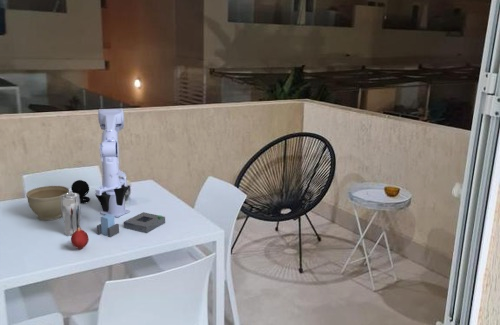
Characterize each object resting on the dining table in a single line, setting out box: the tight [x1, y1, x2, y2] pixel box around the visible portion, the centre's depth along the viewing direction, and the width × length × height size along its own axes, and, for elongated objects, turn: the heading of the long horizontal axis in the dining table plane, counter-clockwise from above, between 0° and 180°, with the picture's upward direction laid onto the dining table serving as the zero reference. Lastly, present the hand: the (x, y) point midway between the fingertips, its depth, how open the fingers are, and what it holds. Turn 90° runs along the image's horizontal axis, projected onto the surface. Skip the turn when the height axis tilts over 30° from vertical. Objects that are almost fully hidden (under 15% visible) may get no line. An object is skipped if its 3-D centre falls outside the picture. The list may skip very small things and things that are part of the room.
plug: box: [100, 214, 116, 237], centre depth 179 cm, size 4×4×7 cm
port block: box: [123, 211, 166, 234], centre depth 187 cm, size 11×12×3 cm
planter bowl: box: [25, 185, 70, 221], centre depth 194 cm, size 16×16×11 cm
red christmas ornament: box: [70, 227, 90, 250], centre depth 165 cm, size 6×6×8 cm
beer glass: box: [60, 192, 82, 237], centre depth 177 cm, size 7×7×15 cm
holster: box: [96, 223, 120, 238], centre depth 179 cm, size 6×5×4 cm
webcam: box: [70, 179, 91, 204], centre depth 213 cm, size 8×8×10 cm
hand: (112, 208), depth 178 cm, fingers open, 7 cm apart
